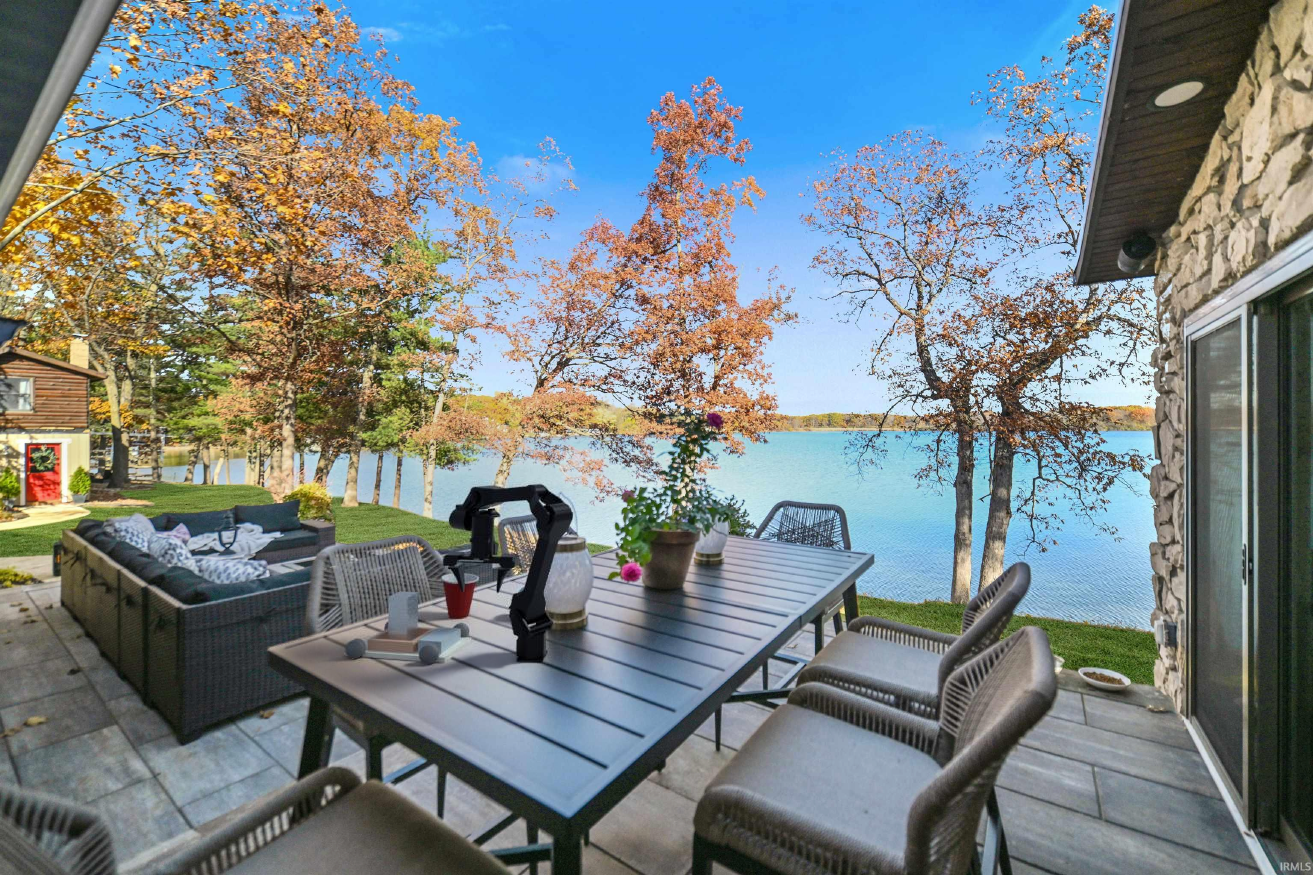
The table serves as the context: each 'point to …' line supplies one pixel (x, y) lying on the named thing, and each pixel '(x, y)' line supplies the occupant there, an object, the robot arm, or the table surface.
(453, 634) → the chassis
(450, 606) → the plastic cup
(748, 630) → the table surface
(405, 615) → the blue-grey rectangular box
